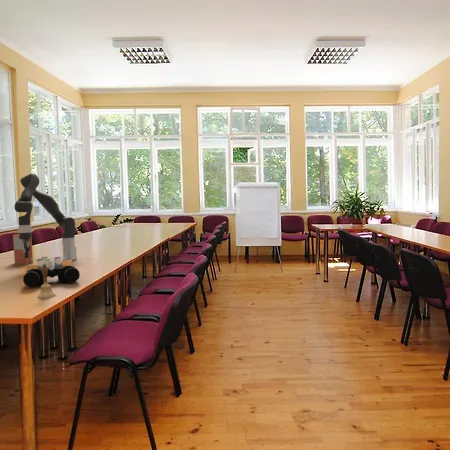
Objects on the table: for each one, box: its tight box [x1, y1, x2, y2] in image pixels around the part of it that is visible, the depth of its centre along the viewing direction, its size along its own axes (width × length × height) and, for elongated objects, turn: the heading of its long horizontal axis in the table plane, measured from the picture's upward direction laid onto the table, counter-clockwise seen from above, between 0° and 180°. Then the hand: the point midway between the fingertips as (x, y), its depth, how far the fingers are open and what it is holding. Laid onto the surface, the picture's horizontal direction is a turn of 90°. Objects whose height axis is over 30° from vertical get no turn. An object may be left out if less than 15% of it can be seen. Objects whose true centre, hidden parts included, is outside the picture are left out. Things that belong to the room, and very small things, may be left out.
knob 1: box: [24, 258, 45, 272], centre depth 265 cm, size 12×5×7 cm, turn 131°
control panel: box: [12, 233, 34, 265], centre depth 304 cm, size 21×7×15 cm
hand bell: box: [37, 264, 56, 299], centre depth 200 cm, size 8×8×16 cm
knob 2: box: [53, 256, 74, 267], centre depth 276 cm, size 12×5×7 cm, turn 131°
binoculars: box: [22, 265, 81, 288], centre depth 230 cm, size 29×20×10 cm
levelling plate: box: [26, 256, 65, 273], centre depth 273 cm, size 24×17×8 cm
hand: (26, 257), depth 267 cm, fingers closed
